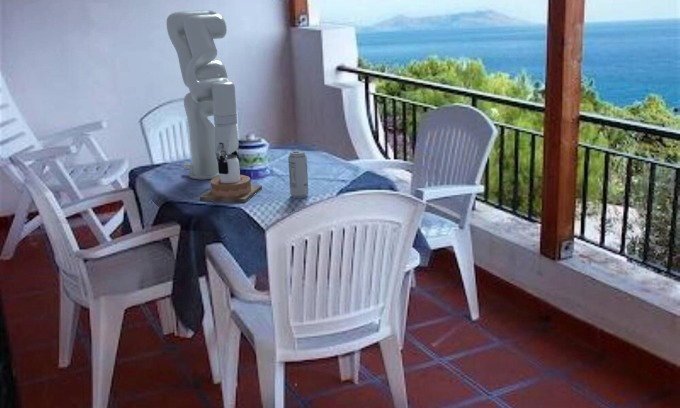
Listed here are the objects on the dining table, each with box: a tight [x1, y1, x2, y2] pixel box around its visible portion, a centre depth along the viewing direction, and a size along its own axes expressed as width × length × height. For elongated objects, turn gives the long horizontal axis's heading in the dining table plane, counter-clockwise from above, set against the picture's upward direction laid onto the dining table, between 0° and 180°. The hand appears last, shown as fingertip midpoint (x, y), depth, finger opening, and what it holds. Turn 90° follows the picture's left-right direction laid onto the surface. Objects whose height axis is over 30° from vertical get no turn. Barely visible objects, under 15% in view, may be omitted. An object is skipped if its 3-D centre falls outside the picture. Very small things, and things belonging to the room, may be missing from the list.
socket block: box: [199, 174, 263, 203], centre depth 247 cm, size 16×16×5 cm
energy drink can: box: [287, 150, 309, 199], centre depth 242 cm, size 6×6×15 cm
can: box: [220, 155, 241, 183], centre depth 246 cm, size 6×6×12 cm
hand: (229, 169), depth 246 cm, fingers open, 9 cm apart
